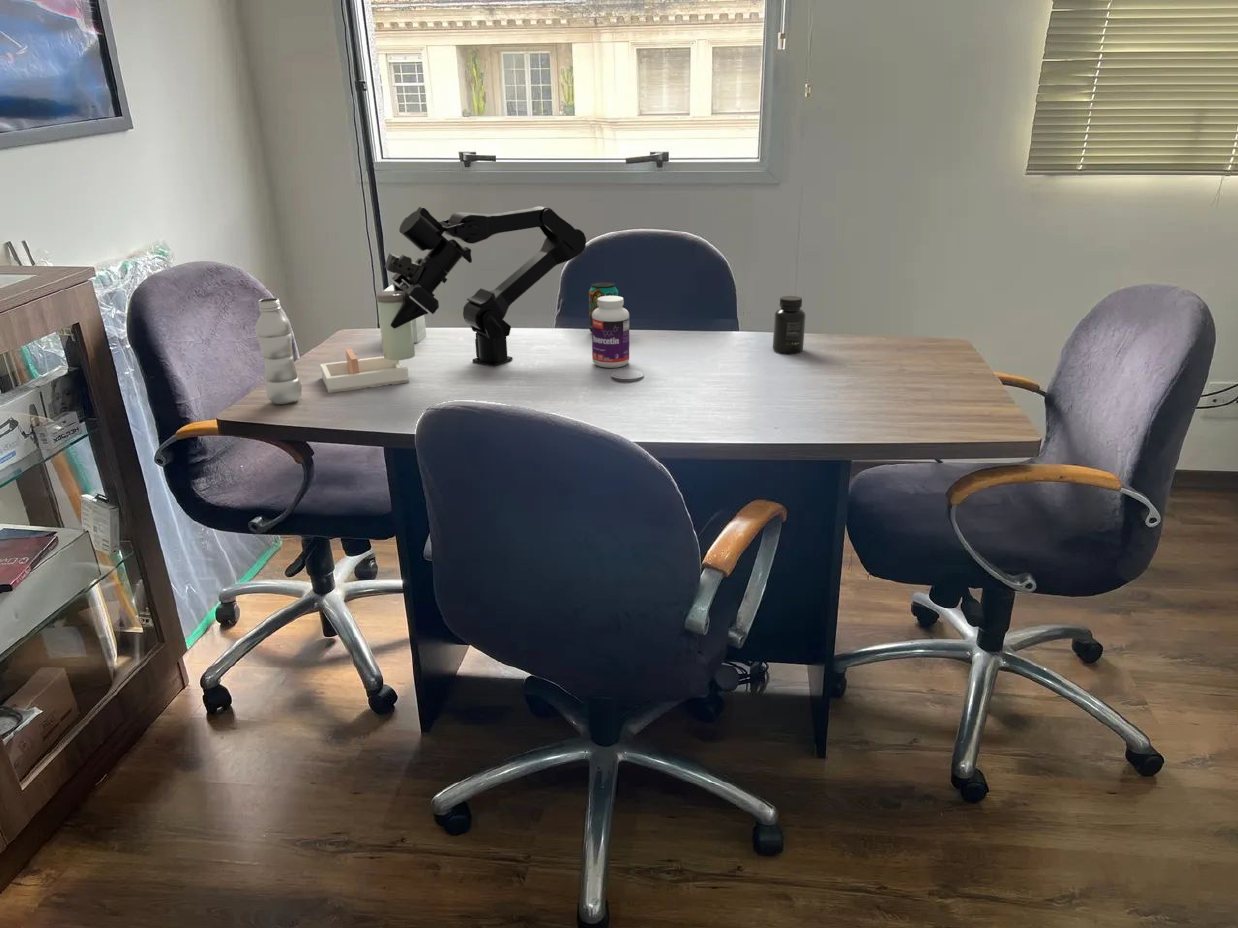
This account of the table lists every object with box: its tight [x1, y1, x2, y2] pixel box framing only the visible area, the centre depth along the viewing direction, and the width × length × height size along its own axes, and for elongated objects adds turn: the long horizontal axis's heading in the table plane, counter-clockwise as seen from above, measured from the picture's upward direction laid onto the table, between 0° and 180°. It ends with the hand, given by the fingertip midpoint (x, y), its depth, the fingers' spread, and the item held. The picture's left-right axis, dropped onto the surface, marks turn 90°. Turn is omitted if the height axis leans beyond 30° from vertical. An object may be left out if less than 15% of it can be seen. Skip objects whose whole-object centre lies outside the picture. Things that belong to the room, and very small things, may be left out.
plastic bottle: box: [254, 297, 303, 405], centre depth 168 cm, size 6×7×20 cm
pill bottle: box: [591, 295, 630, 369], centre depth 191 cm, size 8×8×14 cm
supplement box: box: [381, 284, 427, 344], centre depth 212 cm, size 7×7×13 cm
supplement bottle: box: [772, 295, 806, 355], centre depth 199 cm, size 7×7×12 cm
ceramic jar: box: [375, 291, 416, 361], centre depth 183 cm, size 7×7×13 cm
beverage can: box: [588, 281, 619, 333], centre depth 215 cm, size 7×7×12 cm
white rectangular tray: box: [319, 355, 410, 394], centre depth 184 cm, size 16×11×3 cm
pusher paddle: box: [345, 348, 359, 374], centre depth 183 cm, size 1×8×5 cm, turn 24°
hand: (389, 323), depth 183 cm, fingers closed on ceramic jar, 6 cm apart
